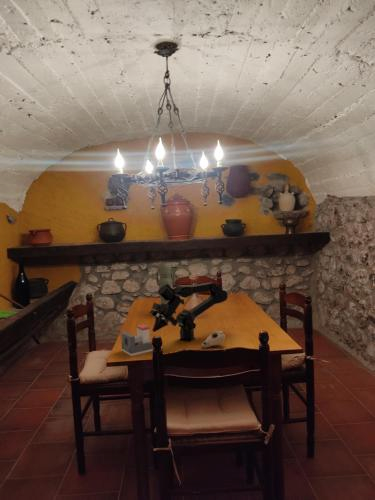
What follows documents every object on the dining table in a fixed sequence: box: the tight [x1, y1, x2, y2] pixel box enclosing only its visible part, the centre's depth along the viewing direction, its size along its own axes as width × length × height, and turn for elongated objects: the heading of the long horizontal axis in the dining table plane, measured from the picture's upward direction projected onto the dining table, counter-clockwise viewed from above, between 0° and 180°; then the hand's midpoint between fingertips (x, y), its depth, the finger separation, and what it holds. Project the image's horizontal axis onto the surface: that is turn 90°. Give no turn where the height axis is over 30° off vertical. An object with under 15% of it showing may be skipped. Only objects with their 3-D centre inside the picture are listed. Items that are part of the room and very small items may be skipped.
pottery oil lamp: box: [201, 330, 226, 349], centre depth 204 cm, size 9×12×7 cm
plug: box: [134, 324, 151, 345], centre depth 201 cm, size 9×6×10 cm, turn 124°
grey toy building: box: [121, 331, 153, 354], centre depth 201 cm, size 14×10×8 cm
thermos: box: [156, 261, 176, 317], centre depth 271 cm, size 9×12×35 cm
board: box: [121, 348, 153, 357], centre depth 202 cm, size 14×10×1 cm
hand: (153, 331), depth 205 cm, fingers closed
